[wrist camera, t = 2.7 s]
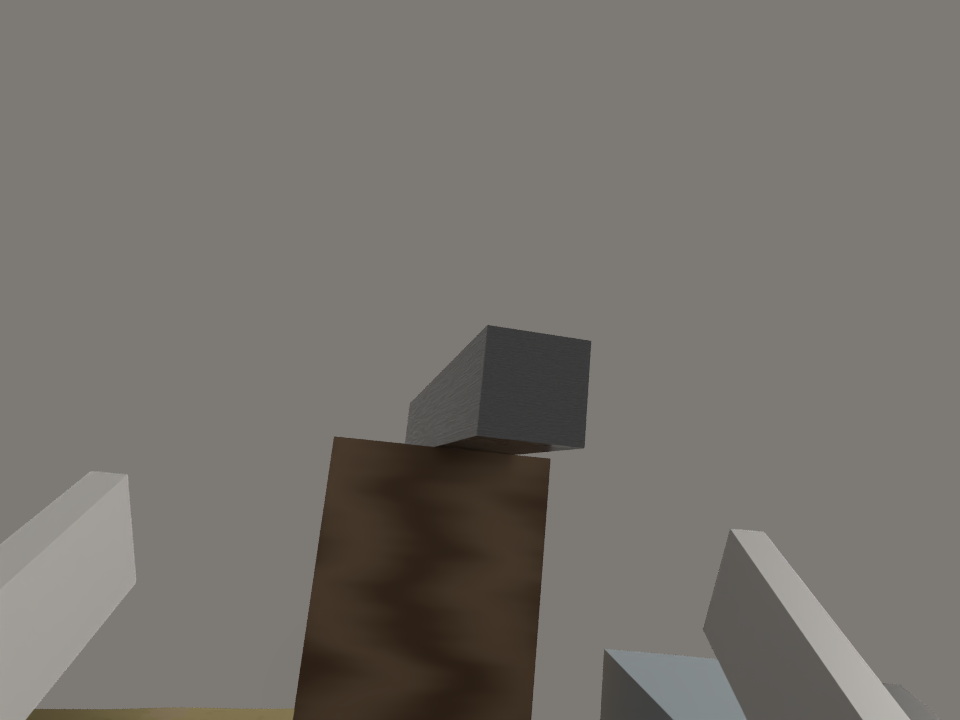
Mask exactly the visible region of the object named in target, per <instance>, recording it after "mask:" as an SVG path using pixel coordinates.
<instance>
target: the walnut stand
mask: <svg viewBox="0 0 960 720" xmlns="http://www.w3.org/2000/svg"><path fill="white" fill-rule="evenodd" d="M549 470H550V459H548V458H537V457H528V456H518V455H509V454H499V453H489V452H479V451H470V450H460V449H450V448H441V447H431V446H421V445H411V444H402V443H392V442H382V441H372V440H363V439H353V438H343V437H334V441H333V448H332V454H331V461H330V469H329V475H328V482H327V489H326V496H325V504H324V509H323V516H322V524H321V530H320V537H319V544H318V551H317V559H316V565H315V572H314V579H313V585H312V592H311V599H310V606H309V612H308V620H307V627H306V634H305V640H304V647H303V654H302V661H301V668H300V674H299V681H298V688H297V695H296V702H295V709H294V715H293V720H531V714H532V701H533V687H534V673H535V659H536V647H537V633H538V619H539V606H540V593H541V579H542V566H543V552H544V538H545V525H546V511H547V498H548V485H549Z"/></svg>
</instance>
